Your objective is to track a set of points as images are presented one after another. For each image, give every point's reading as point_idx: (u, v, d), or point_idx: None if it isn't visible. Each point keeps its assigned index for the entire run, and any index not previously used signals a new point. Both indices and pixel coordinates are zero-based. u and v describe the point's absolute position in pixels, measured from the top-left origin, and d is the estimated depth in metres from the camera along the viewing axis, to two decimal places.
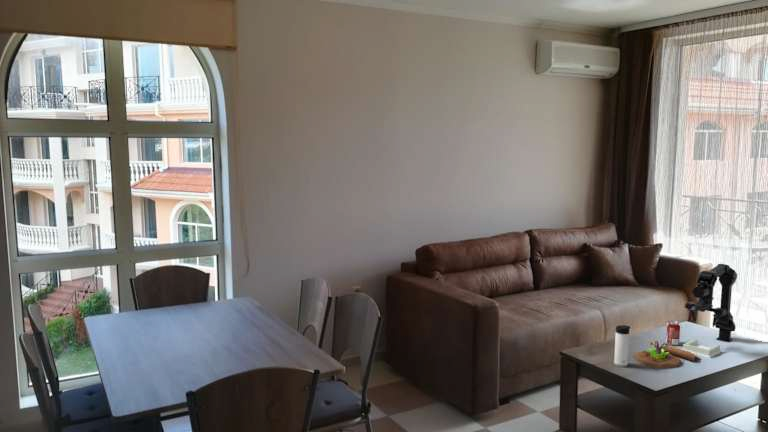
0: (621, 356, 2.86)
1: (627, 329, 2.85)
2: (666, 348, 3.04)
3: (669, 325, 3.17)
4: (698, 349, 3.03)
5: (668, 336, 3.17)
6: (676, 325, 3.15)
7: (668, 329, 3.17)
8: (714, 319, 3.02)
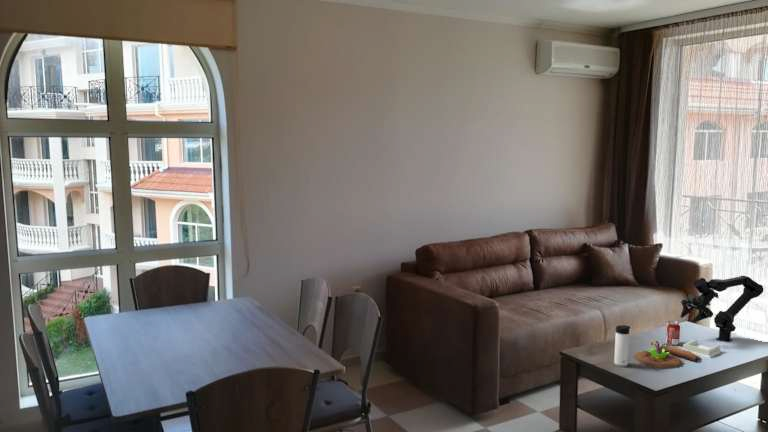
0: (621, 356, 2.86)
1: (627, 329, 2.85)
2: (667, 348, 3.05)
3: (669, 325, 3.17)
4: (698, 349, 3.03)
5: (668, 336, 3.17)
6: (676, 325, 3.15)
7: (668, 329, 3.17)
8: (697, 315, 3.14)
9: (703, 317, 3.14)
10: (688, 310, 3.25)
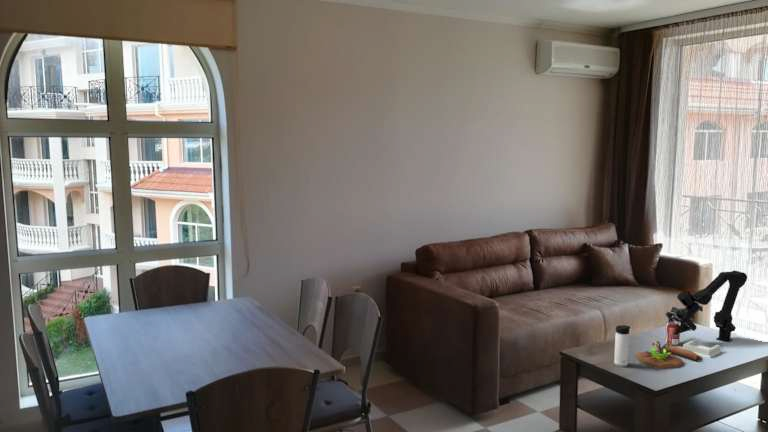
0: (621, 356, 2.86)
1: (627, 329, 2.85)
2: (668, 347, 3.06)
3: (669, 325, 3.17)
4: (698, 349, 3.03)
5: (668, 336, 3.17)
6: (676, 325, 3.15)
7: (668, 329, 3.17)
8: (679, 327, 3.14)
9: (685, 329, 3.14)
10: None
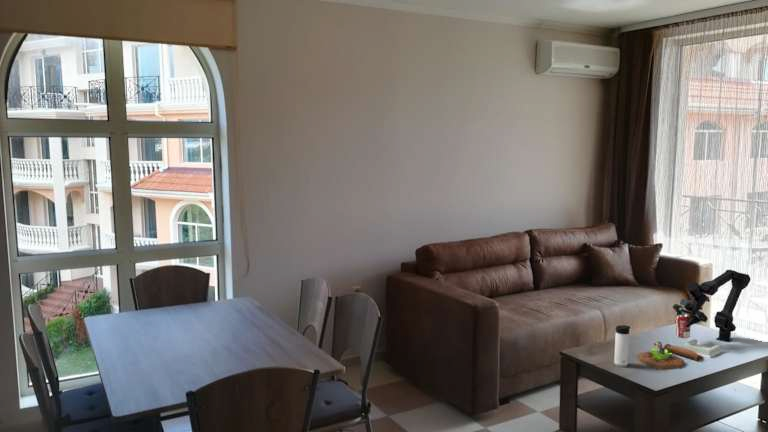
0: (621, 356, 2.86)
1: (627, 329, 2.85)
2: (669, 347, 3.06)
3: (680, 318, 3.12)
4: (698, 349, 3.03)
5: (679, 329, 3.12)
6: (687, 317, 3.10)
7: (679, 322, 3.12)
8: (690, 319, 3.10)
9: (696, 321, 3.10)
10: None
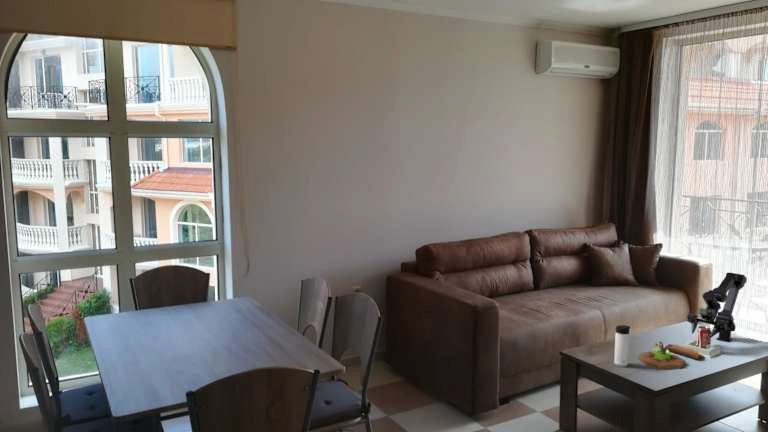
0: (621, 356, 2.86)
1: (627, 329, 2.85)
2: None
3: (703, 331, 3.04)
4: (698, 349, 3.03)
5: (702, 342, 3.04)
6: (709, 330, 3.04)
7: (702, 335, 3.04)
8: (713, 329, 3.03)
9: (718, 331, 3.04)
10: (696, 324, 3.13)
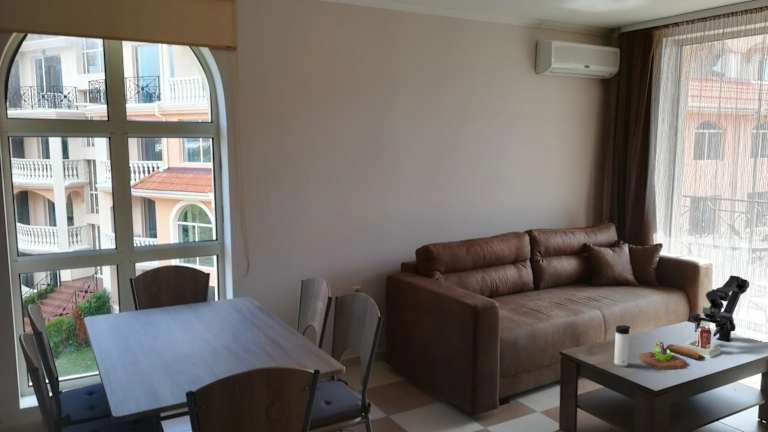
0: (621, 356, 2.86)
1: (627, 329, 2.85)
2: (671, 346, 3.07)
3: (703, 331, 3.04)
4: (698, 349, 3.03)
5: (702, 342, 3.04)
6: (709, 330, 3.04)
7: (702, 335, 3.04)
8: (717, 328, 3.05)
9: (721, 330, 3.06)
10: (699, 323, 3.15)
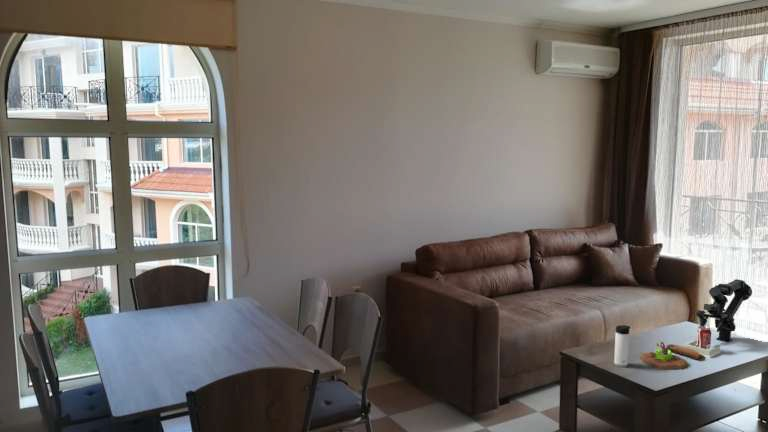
0: (621, 356, 2.86)
1: (627, 329, 2.85)
2: (671, 346, 3.07)
3: (703, 331, 3.04)
4: (698, 349, 3.03)
5: (702, 342, 3.04)
6: (709, 330, 3.04)
7: (702, 335, 3.04)
8: (720, 323, 3.09)
9: (725, 324, 3.09)
10: (705, 320, 3.19)
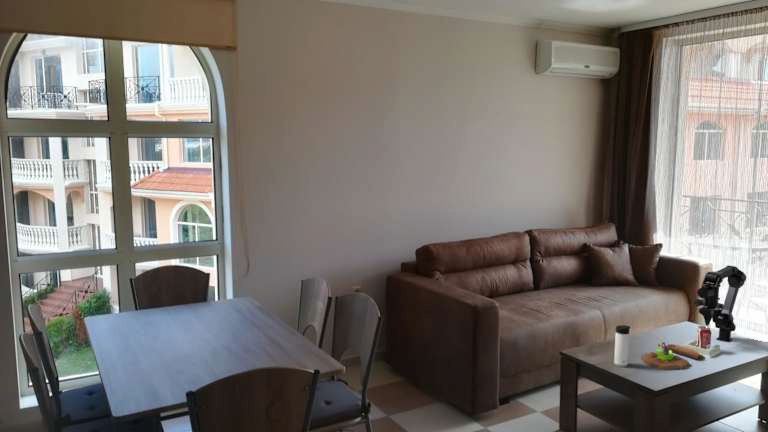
0: (621, 356, 2.86)
1: (627, 329, 2.85)
2: (671, 346, 3.07)
3: (703, 331, 3.04)
4: (698, 349, 3.03)
5: (702, 342, 3.04)
6: (709, 330, 3.04)
7: (702, 335, 3.04)
8: None
9: (709, 317, 3.10)
10: (717, 312, 3.17)
